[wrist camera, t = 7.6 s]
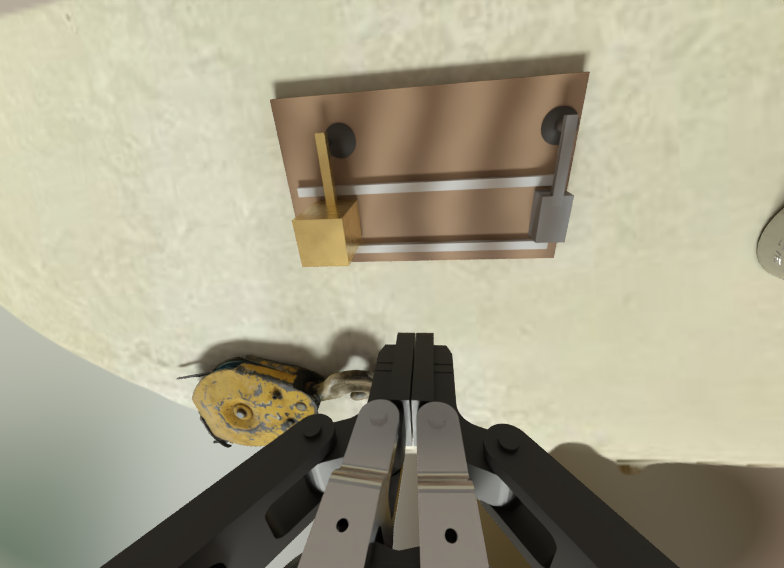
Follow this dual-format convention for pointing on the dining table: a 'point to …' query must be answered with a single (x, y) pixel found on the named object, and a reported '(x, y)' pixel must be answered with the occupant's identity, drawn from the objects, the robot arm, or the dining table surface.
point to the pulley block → (266, 398)
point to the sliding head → (328, 221)
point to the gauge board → (443, 164)
